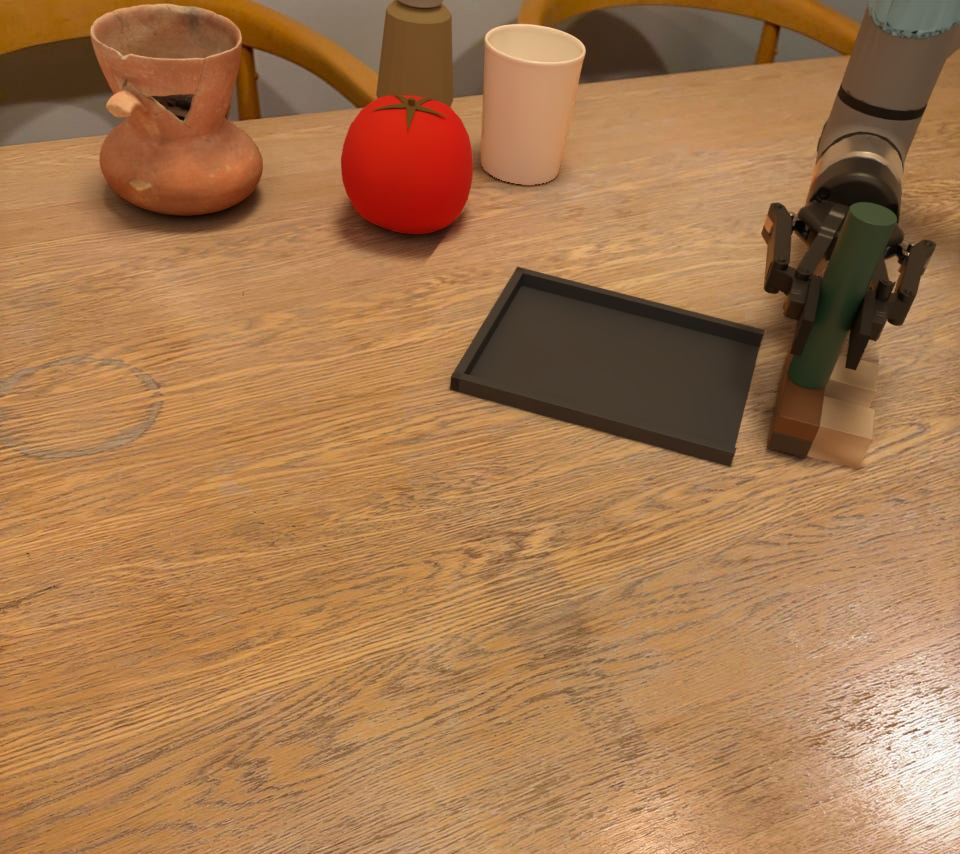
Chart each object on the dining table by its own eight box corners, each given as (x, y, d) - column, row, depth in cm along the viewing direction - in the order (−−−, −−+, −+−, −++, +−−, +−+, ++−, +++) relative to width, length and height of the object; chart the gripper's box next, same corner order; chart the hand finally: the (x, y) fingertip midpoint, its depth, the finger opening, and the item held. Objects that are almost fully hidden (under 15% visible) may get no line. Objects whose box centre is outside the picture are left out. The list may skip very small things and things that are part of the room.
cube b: (855, 450, 80) (875, 408, 77) (852, 481, 78) (873, 439, 75) (805, 437, 81) (823, 395, 78) (800, 467, 78) (818, 424, 75)
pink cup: (457, 152, 108) (467, 27, 99) (537, 142, 112) (554, 20, 103) (500, 195, 103) (515, 66, 94) (583, 183, 106) (605, 58, 97)
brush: (820, 373, 84) (899, 182, 72) (807, 459, 77) (894, 260, 65) (782, 363, 85) (855, 171, 73) (765, 447, 77) (843, 248, 65)
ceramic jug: (206, 254, 90) (187, 83, 79) (65, 211, 92) (28, 39, 82) (303, 175, 101) (298, 15, 91) (175, 138, 104) (155, -21, 93)
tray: (448, 402, 79) (450, 375, 77) (513, 291, 91) (517, 266, 89) (725, 478, 76) (735, 453, 75) (756, 354, 88) (765, 329, 86)
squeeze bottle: (363, 138, 108) (366, -61, 95) (392, 110, 113) (398, -82, 100) (435, 156, 107) (447, -43, 93) (460, 127, 112) (476, -65, 99)
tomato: (469, 196, 102) (480, 78, 94) (465, 263, 93) (477, 140, 85) (350, 183, 101) (350, 63, 93) (334, 250, 93) (333, 124, 84)
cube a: (860, 405, 84) (879, 363, 81) (857, 432, 82) (876, 391, 79) (812, 392, 85) (829, 351, 82) (808, 419, 82) (825, 377, 79)
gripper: (931, 266, 87) (924, 420, 72) (744, 221, 89) (700, 361, 74) (971, 179, 82) (974, 326, 66) (771, 133, 84) (729, 265, 68)
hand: (829, 344), depth 70 cm, fingers closed on brush, 3 cm apart
